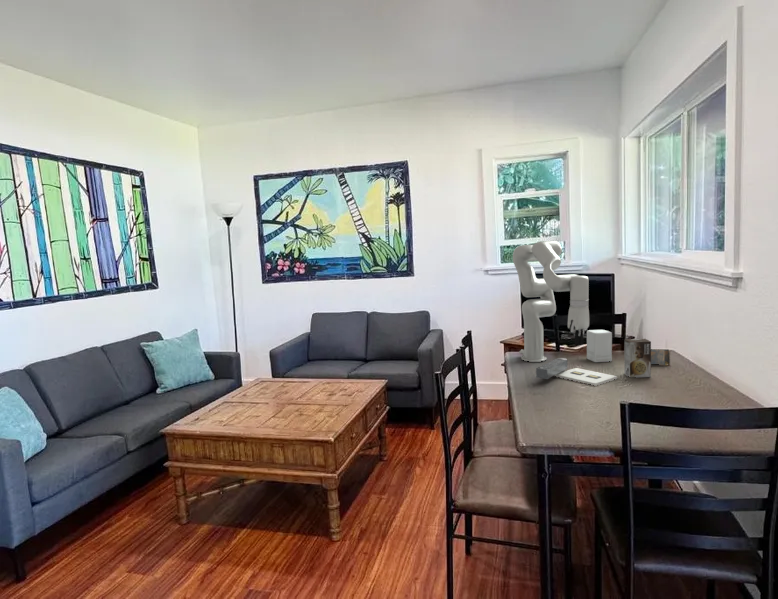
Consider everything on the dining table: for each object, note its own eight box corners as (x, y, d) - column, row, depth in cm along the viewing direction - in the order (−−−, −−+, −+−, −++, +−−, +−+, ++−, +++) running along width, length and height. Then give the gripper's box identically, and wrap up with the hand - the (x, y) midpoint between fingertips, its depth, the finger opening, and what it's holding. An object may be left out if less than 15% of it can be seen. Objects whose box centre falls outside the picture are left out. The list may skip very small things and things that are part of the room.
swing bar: (558, 365, 223) (558, 357, 223) (569, 367, 220) (569, 358, 220) (536, 377, 206) (536, 368, 205) (547, 379, 202) (547, 370, 202)
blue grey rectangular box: (643, 366, 227) (644, 346, 226) (642, 364, 230) (642, 344, 229) (670, 366, 224) (670, 346, 223) (668, 365, 227) (668, 345, 226)
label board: (549, 375, 217) (549, 370, 217) (570, 369, 226) (570, 364, 226) (595, 386, 198) (595, 380, 198) (617, 378, 207) (617, 373, 206)
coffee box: (644, 373, 213) (645, 338, 211) (651, 377, 207) (651, 341, 205) (623, 373, 214) (624, 338, 212) (629, 377, 208) (629, 341, 206)
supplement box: (612, 361, 236) (612, 332, 235) (595, 362, 236) (595, 333, 234) (603, 357, 245) (603, 329, 244) (586, 358, 245) (586, 330, 243)
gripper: (581, 301, 217) (581, 340, 219) (561, 304, 208) (561, 345, 211) (596, 302, 211) (596, 343, 213) (576, 306, 202) (576, 348, 204)
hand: (578, 344), depth 212 cm, fingers closed
